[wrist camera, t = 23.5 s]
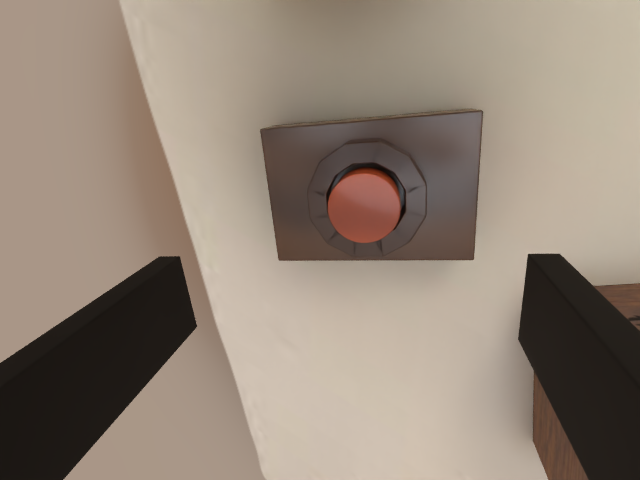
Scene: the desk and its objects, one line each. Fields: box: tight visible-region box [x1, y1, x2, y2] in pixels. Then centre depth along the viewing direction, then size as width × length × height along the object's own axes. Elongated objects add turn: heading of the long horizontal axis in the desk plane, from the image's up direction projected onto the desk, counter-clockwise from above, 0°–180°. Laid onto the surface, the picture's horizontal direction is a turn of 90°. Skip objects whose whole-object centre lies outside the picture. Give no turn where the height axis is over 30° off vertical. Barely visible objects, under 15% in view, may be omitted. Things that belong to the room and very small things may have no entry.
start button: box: [328, 167, 401, 243], centre depth 21 cm, size 4×4×2 cm
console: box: [260, 109, 483, 261], centre depth 23 cm, size 9×13×5 cm
